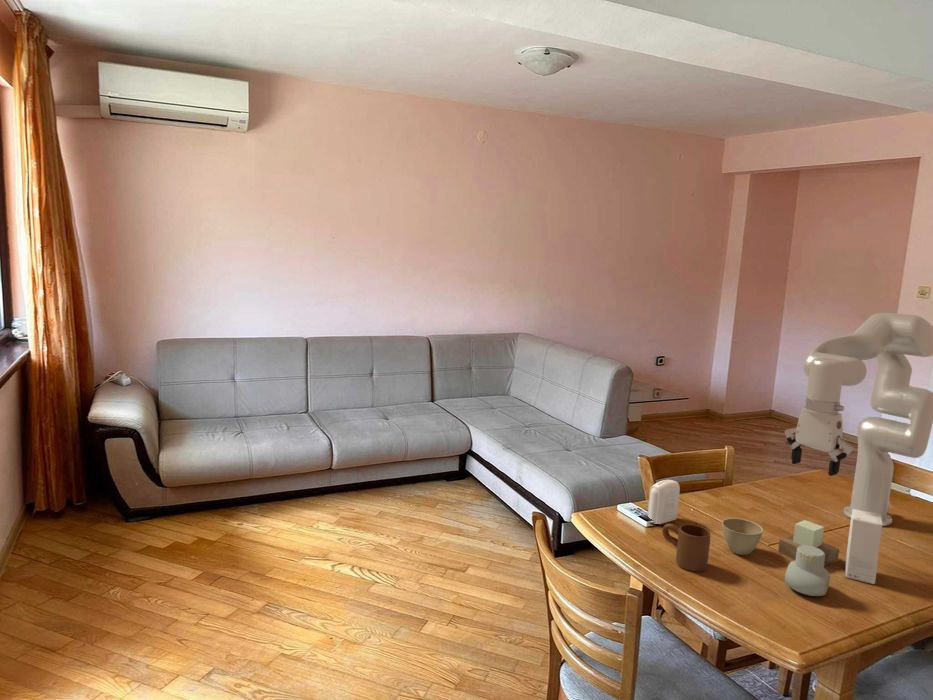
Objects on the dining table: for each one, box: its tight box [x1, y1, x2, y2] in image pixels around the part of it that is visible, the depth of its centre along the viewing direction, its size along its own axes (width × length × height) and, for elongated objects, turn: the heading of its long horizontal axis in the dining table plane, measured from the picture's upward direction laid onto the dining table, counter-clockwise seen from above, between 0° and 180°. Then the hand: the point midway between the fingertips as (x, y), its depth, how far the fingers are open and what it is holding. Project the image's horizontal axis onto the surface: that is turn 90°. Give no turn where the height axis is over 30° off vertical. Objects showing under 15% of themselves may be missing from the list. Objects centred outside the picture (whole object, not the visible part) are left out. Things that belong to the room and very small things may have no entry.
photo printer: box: [646, 479, 681, 525], centre depth 182 cm, size 10×4×12 cm, turn 123°
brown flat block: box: [777, 535, 840, 567], centre depth 164 cm, size 10×10×4 cm
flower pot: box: [721, 517, 764, 556], centre depth 166 cm, size 10×10×7 cm
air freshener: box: [784, 545, 831, 597], centre depth 147 cm, size 11×8×10 cm
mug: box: [661, 523, 711, 573], centre depth 158 cm, size 12×8×9 cm, turn 50°
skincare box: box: [845, 509, 883, 585], centre depth 155 cm, size 8×7×16 cm
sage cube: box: [793, 519, 825, 547], centre depth 164 cm, size 5×5×5 cm
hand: (813, 468), depth 163 cm, fingers open, 9 cm apart
